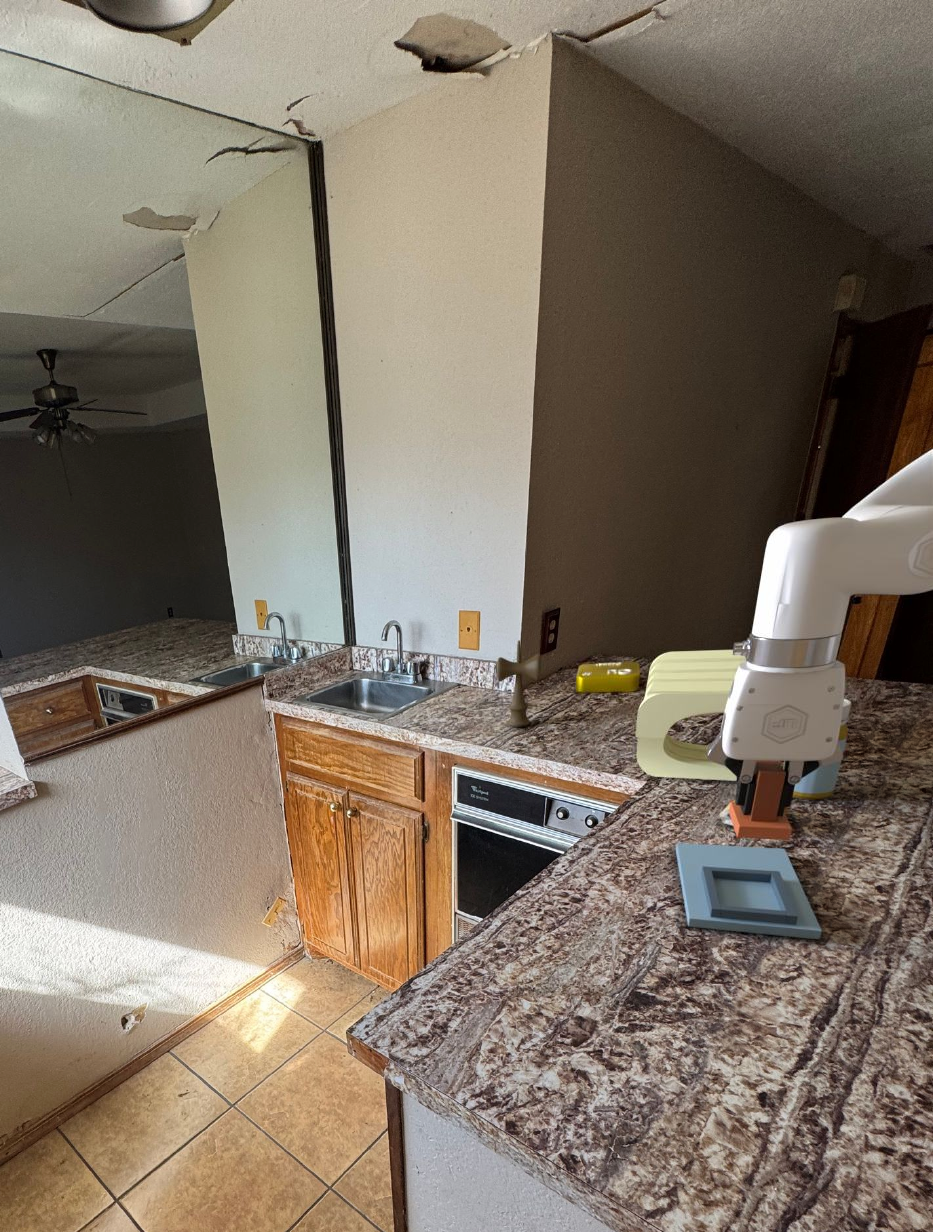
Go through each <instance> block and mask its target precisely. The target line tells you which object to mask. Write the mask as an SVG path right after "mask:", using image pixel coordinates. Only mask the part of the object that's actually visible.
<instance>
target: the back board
mask: <svg viewBox="0 0 933 1232" xmlns="http://www.w3.org/2000/svg"><path fill="white" fill-rule="evenodd" d="M675 854H676V860H677V866H678V872H679V878H680V879H679V880H680V884H681V891H682V896H683V904H684V910H685V915H686V922H687V927H689V928H700V929H709V930H720V931H729V932H740V933H750V934H759V935H770V936H771V935H772V936H780V937H792V938H801V939H812V940H820V939H821V936H822V932H823V931H822V928H821V926H820V923H819V922H818V919H817V917H816V915H815V913H814V911H813V909H812V906H811V904H810V901H809V900H808V897H807V895H806V892H805V891H804V888H803V886H802V884H801V882H800V880H799V877H798V875H797V873H796V870H795V869H794V866H793V863H792V862H791V859H790V858H789V855H788V853H787V851H786V849H785V848H775V847H757V846H740V845H738V846H737V845H721V844H720V845H719V844H701V843H682V842H676V845H675Z"/></svg>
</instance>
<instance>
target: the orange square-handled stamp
mask: <svg viewBox="0 0 933 1232" xmlns="http://www.w3.org/2000/svg"><path fill="white" fill-rule="evenodd" d="M753 775H754V777H755V778H754V781H755V783H756V789H755V795H754V800H753V805H752V810H751V814H749V815H743V813H742V810H741V807H740V805H736V803H735V802H732V801H730V802H729V803H730V807H729V814H730V817H731V820H732V823H733V826H734V827H733V826H732V827H733V829H734V832H735V835H736V838H738V839H754V840H755V839H756V840H775V841H791V836H792V832H793V828H792V826H791V823H790V822H789V820H788V818H787V815H786V816H785V814H783V817H777V813H778V808H779V803H780V799H781V794H782V789H783V784H784V780H785V775H786V773H785V771H784V769H783V766H782V764H781V761H769V760H757V762H756V766H755V770H754V774H753Z"/></svg>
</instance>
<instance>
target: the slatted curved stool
mask: <svg viewBox="0 0 933 1232" xmlns="http://www.w3.org/2000/svg"><path fill="white" fill-rule="evenodd" d="M743 662H747V659H746V658H745V656H741V655H733V649H714V650H711V649H710V650H686V651H684V650H683V651H668V652H664V653H662V654H660V655H658V656H657V657H656V658H655V659H653V661H652V663H651V664H650V666H649V670H648V677H647V682H646V687H645V693H644V699H643V700H642V701H641V703H640V705H639V707H638V710H637V714H636V715H637V716H636V724H635V738H637V745H636V763H637V764H638V766H639V768H640V769H641V770H642V771H643V772H644V773H646V774H647V775H649V776H651V777H655V778H672V779H673V778H674V779H690V780H691V779H694V780H709V781H711V780H712V781H713V780H714V781H731V782H736V781H737V779H738V777H736V776H735V775H734V774H733V773H732V772H731V771H730V770H729V769H728V768H727V767H726V766H723V765H720V764H718V763H715V762H713V761H711V760H708V759H707V756H706V751H707V749H708V748H709V747H710V745H704V744H697V743H696V744H695V743H690V742H685V741H681V740H677V739H675V738H673V737H672V736H671V735H670V734H669V731H670V729H671V728H672V727H673V726H674V725H675V724H676V723H678V722H680V721H682V720H684V719H688V718H692V717H697V716H704V715H714V714H724V712H725V708H726V704H727V700H728V697H729V693H730V690H731V686H732V683H733V680H734V678H735V675H736V672H737V670H738V668H739V665H740V664H741V663H743Z"/></svg>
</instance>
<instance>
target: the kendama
mask: <svg viewBox="0 0 933 1232" xmlns="http://www.w3.org/2000/svg"><path fill="white" fill-rule="evenodd" d="M521 646H522V645H521V640H520V639H518V640H517V645H516V661H511V660H508V659H506V658H504V657H501V656H500V657H498V658H497V662H496V677H497V681H498V682H503V681H505V680H506V679H508V678H509V677H513V676H515V678H514V679H515V680H514V688H513V695H512V700H511V702H510V703H509V705H508V709H509V711H510V718H509V719H508V720H507V721H506V724H507V726H508V727H511V728H522V727H526V726H529V724H531V723H530V719H529V718H528V716H527V710H528V708H529V707H530V706H529V703H527V702H526V699H525V694H524V685H523V675H525V676H528V677H529V678H531V679H532V680H535V681H540V679H541V675H542V657H541V654H540V653H536V654H535V655H533V656H532V657H530V658H529V659H527V660H525V661H522V647H521Z"/></svg>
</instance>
